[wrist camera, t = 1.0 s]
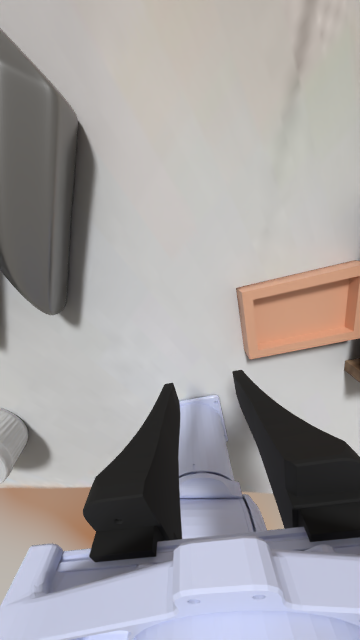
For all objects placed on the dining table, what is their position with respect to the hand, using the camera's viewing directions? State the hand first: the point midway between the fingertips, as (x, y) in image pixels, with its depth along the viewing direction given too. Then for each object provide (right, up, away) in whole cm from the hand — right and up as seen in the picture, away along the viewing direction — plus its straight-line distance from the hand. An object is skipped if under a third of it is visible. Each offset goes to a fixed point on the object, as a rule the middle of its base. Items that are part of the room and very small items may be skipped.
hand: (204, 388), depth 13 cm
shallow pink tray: (+11, +6, +8) cm, 15 cm away
